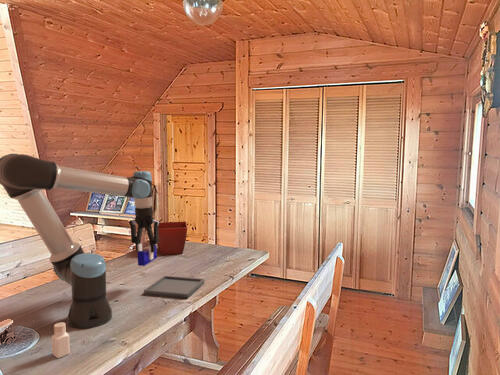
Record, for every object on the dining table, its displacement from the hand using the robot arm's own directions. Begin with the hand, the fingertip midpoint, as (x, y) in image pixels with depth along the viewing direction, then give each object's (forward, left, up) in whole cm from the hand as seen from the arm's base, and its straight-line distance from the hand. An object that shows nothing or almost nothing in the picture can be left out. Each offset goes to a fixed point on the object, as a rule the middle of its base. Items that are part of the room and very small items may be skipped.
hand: (145, 258), depth 175 cm
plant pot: (+62, +17, -14) cm, 66 cm away
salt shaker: (-57, -2, -14) cm, 59 cm away
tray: (+4, -12, -14) cm, 19 cm away
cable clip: (0, 0, -1) cm, 2 cm away
